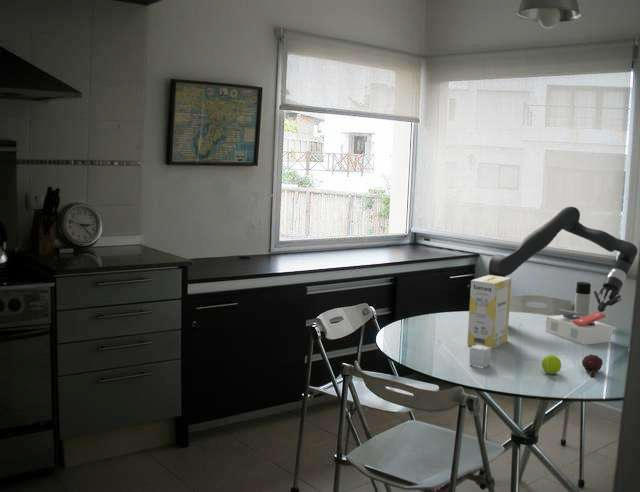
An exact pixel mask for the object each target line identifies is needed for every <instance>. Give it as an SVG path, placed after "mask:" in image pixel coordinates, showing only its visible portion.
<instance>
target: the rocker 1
mask: <svg viewBox="0 0 640 492" xmlns="http://www.w3.org/2000/svg"><path fill="white" fill-rule="evenodd" d="M553 311H554V312H557V313H560V314H568V315H572V316H574V315H575V316H580V317H584V316H585V315H584V314H581V313H578V312H574V311H573V310H572V311H571V310H566V309H561V308H556V307H554V308H553Z"/></svg>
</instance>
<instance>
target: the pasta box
mask: <svg viewBox="0 0 640 492" xmlns="http://www.w3.org/2000/svg"><path fill="white" fill-rule="evenodd" d="M511 288H512V277H507V276H506V277H501V276H493V275H489V274H487V275H485V276H484V275H483V276H481V277H477V278H474V279H471V280H470V292H469V293H470V294H469V296H470V297H469V309H468V310H469V311H468V312H469V313H468V329H467V342H466V343H467V344H468V345H467V344H466V345H467V346H469V345H473V346H475V345H477V344H478V345H482V346H487V347H491V350H493V349H494V348H497V347H498V346H500V345H502V344H504V343H506V342H508V336H509V334H508V333H509V323H510V322H509V320H510V319H509V318H510V306H511V305H510V304H511ZM473 346H472V347H473Z"/></svg>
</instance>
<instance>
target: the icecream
mask: <svg viewBox="0 0 640 492" xmlns="http://www.w3.org/2000/svg"><path fill="white" fill-rule="evenodd" d="M581 363H582V367H584V370H585V371H587V372H589V373H590V376H591V378H593V377H595V376H596V373H597V372H598V371H600V370H601V369H602V367H603V363H604V362H603V359H602V358H600V356H598V355H595V354H592V353H591V354H589V355H585V356H584V357H583V359H582V361H581Z"/></svg>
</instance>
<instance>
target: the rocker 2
mask: <svg viewBox="0 0 640 492" xmlns="http://www.w3.org/2000/svg"><path fill="white" fill-rule="evenodd" d="M604 318H606V314H604V313H602V312H599V311H598V312H597V311H596V312H594V313H589V314H588V316H585V317H582V318H579V319H576V320H573V323H574V324H577V325H580V326H582V325H585V324H588V323H591V322H594V321H599V320H602V319H604Z"/></svg>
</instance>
